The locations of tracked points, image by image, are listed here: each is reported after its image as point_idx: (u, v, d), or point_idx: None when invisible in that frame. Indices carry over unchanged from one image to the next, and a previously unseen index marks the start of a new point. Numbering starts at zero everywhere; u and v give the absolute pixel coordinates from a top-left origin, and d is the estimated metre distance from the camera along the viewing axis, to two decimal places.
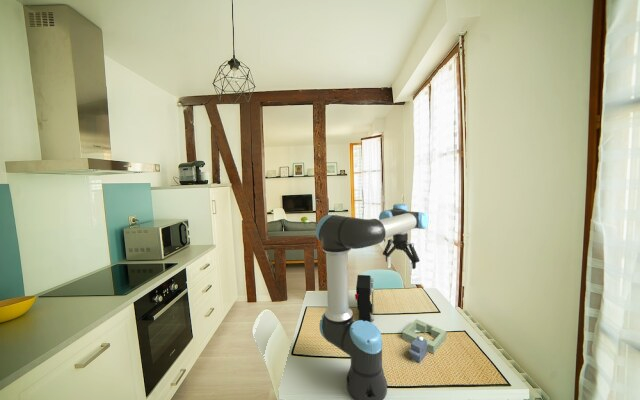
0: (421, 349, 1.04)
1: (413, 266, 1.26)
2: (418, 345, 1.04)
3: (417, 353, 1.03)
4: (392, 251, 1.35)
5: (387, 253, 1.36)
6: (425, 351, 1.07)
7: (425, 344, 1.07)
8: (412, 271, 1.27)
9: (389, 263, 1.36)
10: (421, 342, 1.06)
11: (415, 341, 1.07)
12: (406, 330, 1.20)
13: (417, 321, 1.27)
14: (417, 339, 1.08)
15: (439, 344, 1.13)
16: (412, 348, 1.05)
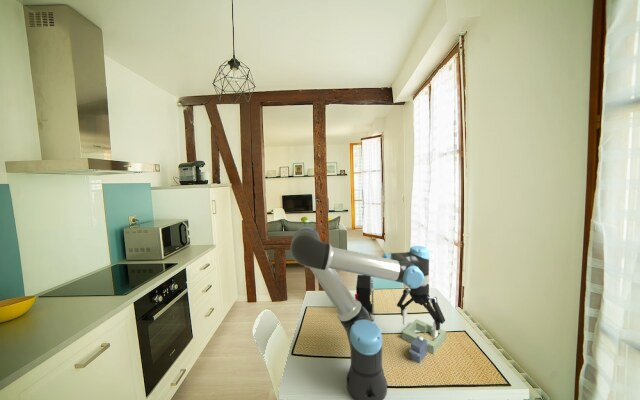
0: (421, 349, 1.04)
1: (437, 327, 1.00)
2: (418, 345, 1.04)
3: (417, 353, 1.03)
4: (409, 303, 1.09)
5: (403, 305, 1.10)
6: (425, 351, 1.07)
7: (425, 344, 1.07)
8: (436, 333, 1.00)
9: (405, 318, 1.10)
10: (421, 342, 1.06)
11: (415, 341, 1.07)
12: (406, 330, 1.20)
13: (417, 321, 1.27)
14: (417, 339, 1.08)
15: (439, 344, 1.13)
16: (412, 348, 1.05)
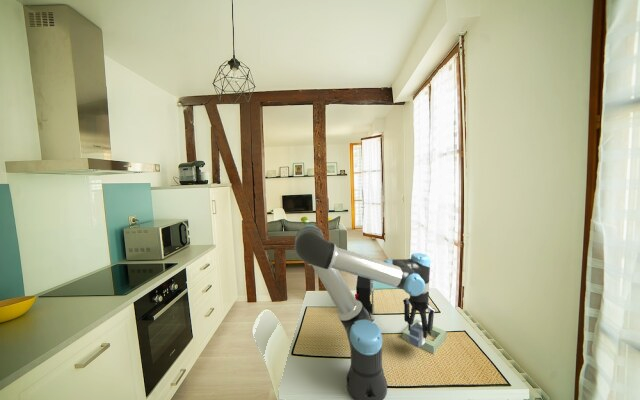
0: (420, 334, 1.04)
1: (424, 335, 1.03)
2: (417, 330, 1.04)
3: (416, 337, 1.02)
4: (414, 315, 1.07)
5: (409, 320, 1.07)
6: None
7: None
8: (423, 340, 1.04)
9: None
10: (420, 327, 1.05)
11: (414, 326, 1.06)
12: (406, 330, 1.20)
13: (417, 321, 1.27)
14: (416, 324, 1.08)
15: (439, 344, 1.13)
16: (411, 333, 1.05)
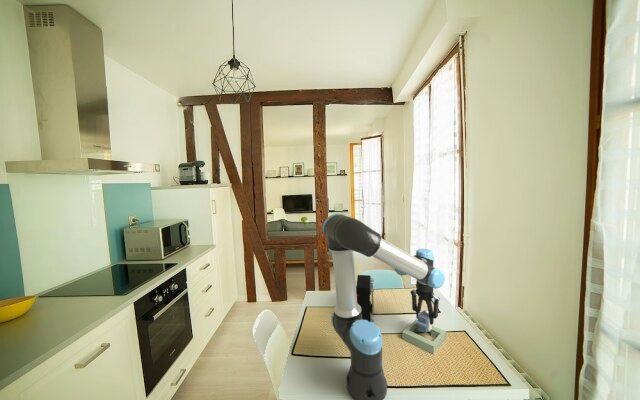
0: (427, 320, 1.16)
1: (431, 322, 1.15)
2: (424, 317, 1.16)
3: (424, 324, 1.15)
4: (420, 304, 1.19)
5: (416, 309, 1.19)
6: None
7: None
8: (430, 327, 1.16)
9: None
10: (427, 315, 1.17)
11: (421, 314, 1.18)
12: (406, 330, 1.20)
13: None
14: (423, 312, 1.20)
15: (439, 344, 1.13)
16: (419, 320, 1.17)
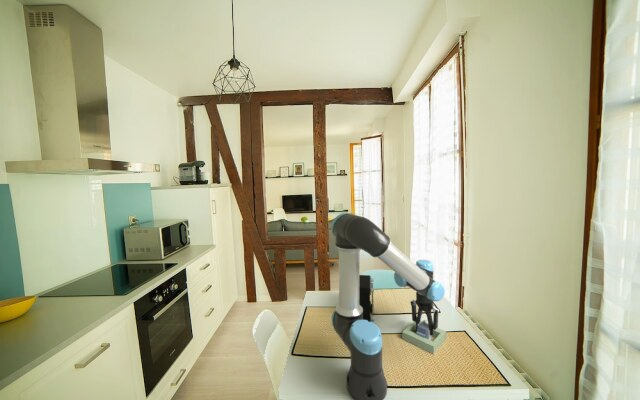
0: (427, 331, 1.16)
1: (430, 332, 1.16)
2: (424, 327, 1.16)
3: (423, 334, 1.15)
4: (420, 315, 1.19)
5: (416, 319, 1.20)
6: None
7: None
8: (429, 337, 1.17)
9: None
10: (427, 325, 1.18)
11: (421, 324, 1.19)
12: (406, 330, 1.20)
13: None
14: (423, 322, 1.20)
15: (439, 344, 1.13)
16: (419, 330, 1.17)
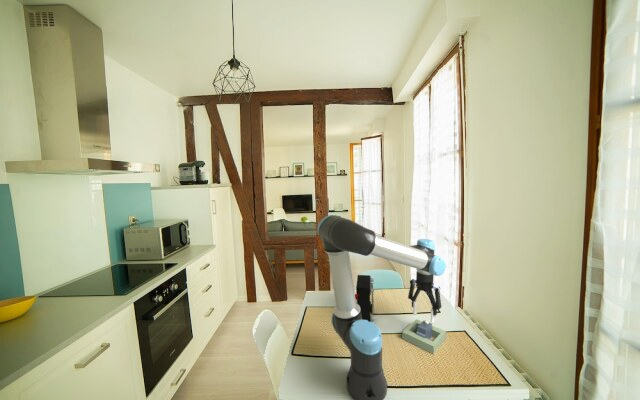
0: (427, 331, 1.16)
1: (434, 313, 1.13)
2: (424, 327, 1.16)
3: (423, 334, 1.15)
4: (418, 294, 1.19)
5: (413, 297, 1.20)
6: (430, 334, 1.19)
7: (430, 327, 1.19)
8: (433, 318, 1.14)
9: (415, 309, 1.20)
10: (427, 325, 1.18)
11: (421, 324, 1.19)
12: (406, 330, 1.20)
13: (417, 321, 1.27)
14: (423, 323, 1.20)
15: (439, 344, 1.13)
16: (419, 330, 1.17)
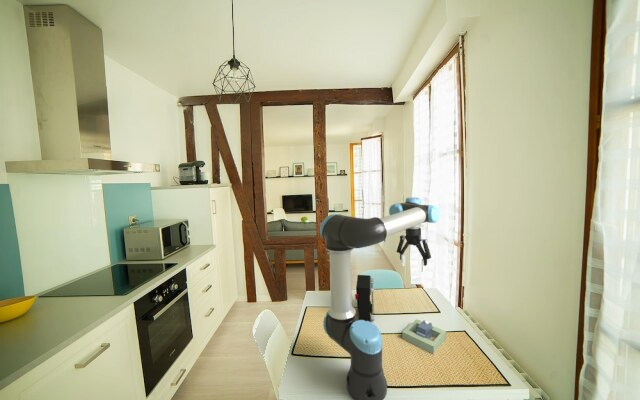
0: (427, 331, 1.16)
1: (424, 263, 1.23)
2: (424, 327, 1.16)
3: (423, 334, 1.15)
4: (406, 247, 1.30)
5: (401, 250, 1.31)
6: (430, 334, 1.19)
7: (430, 327, 1.19)
8: (423, 268, 1.24)
9: (403, 261, 1.31)
10: (427, 325, 1.18)
11: (421, 324, 1.19)
12: (406, 330, 1.20)
13: (417, 321, 1.27)
14: (423, 323, 1.20)
15: (439, 344, 1.13)
16: (419, 330, 1.17)
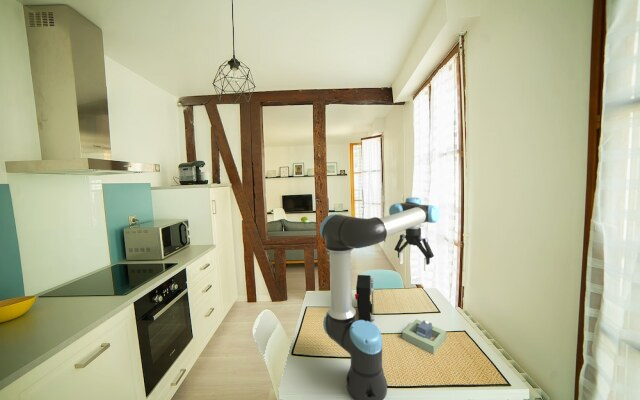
0: (427, 331, 1.16)
1: (427, 262, 1.22)
2: (424, 327, 1.16)
3: (423, 334, 1.15)
4: (404, 246, 1.31)
5: (399, 248, 1.32)
6: (430, 334, 1.19)
7: (430, 327, 1.19)
8: (426, 267, 1.23)
9: (401, 259, 1.32)
10: (427, 325, 1.18)
11: (421, 324, 1.19)
12: (406, 330, 1.20)
13: (417, 321, 1.27)
14: (423, 323, 1.20)
15: (439, 344, 1.13)
16: (419, 330, 1.17)
